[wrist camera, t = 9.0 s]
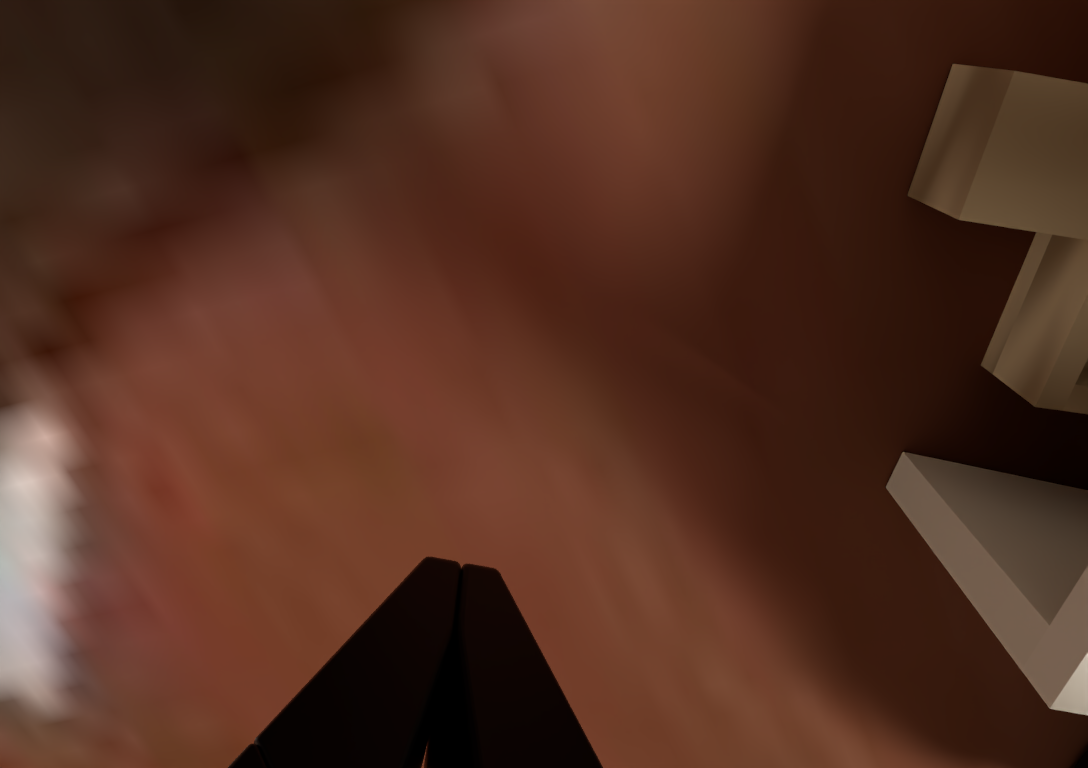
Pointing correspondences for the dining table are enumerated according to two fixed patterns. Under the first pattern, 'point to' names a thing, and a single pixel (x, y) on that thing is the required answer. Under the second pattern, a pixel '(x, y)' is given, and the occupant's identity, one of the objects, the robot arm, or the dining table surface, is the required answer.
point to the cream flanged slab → (1011, 562)
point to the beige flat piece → (1022, 215)
